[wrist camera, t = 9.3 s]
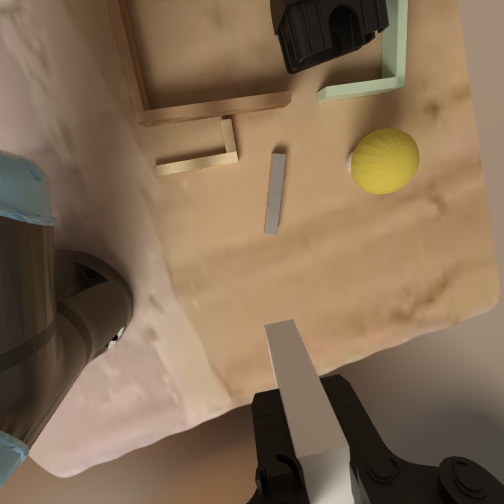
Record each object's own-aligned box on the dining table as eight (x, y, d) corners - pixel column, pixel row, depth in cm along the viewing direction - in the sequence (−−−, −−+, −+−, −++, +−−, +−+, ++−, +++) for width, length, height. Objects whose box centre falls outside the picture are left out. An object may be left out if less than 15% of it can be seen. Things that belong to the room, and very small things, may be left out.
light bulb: (339, 127, 34) (383, 114, 25) (387, 141, 35) (447, 134, 26) (322, 181, 36) (357, 189, 27) (368, 193, 37) (418, 204, 28)
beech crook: (158, 176, 34) (156, 176, 33) (147, 134, 32) (144, 133, 31) (237, 161, 34) (238, 161, 33) (230, 120, 33) (230, 118, 32)
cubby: (145, 126, 32) (137, 122, 29) (106, -38, 27) (89, -65, 24) (284, 107, 33) (291, 101, 29) (269, -56, 28) (275, -86, 25)
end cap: (352, -28, 29) (388, -81, 23) (365, 47, 32) (401, 18, 25) (264, 5, 30) (276, -38, 23) (284, 77, 32) (298, 56, 25)
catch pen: (317, 102, 33) (326, 97, 30) (308, -61, 28) (317, -86, 25) (389, 92, 33) (404, 86, 30) (392, -70, 28) (411, -96, 26)
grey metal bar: (271, 153, 35) (273, 153, 33) (283, 154, 35) (286, 154, 33) (263, 230, 38) (265, 233, 36) (274, 231, 38) (276, 234, 36)
